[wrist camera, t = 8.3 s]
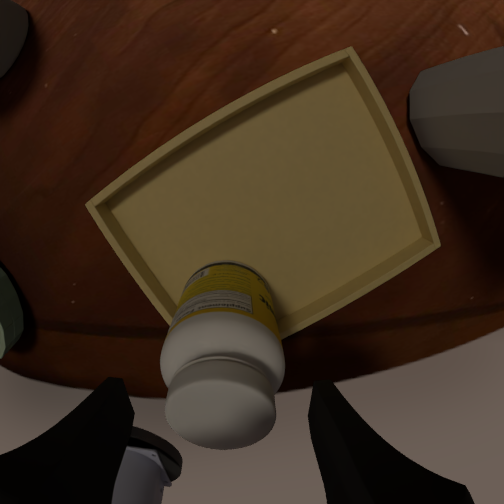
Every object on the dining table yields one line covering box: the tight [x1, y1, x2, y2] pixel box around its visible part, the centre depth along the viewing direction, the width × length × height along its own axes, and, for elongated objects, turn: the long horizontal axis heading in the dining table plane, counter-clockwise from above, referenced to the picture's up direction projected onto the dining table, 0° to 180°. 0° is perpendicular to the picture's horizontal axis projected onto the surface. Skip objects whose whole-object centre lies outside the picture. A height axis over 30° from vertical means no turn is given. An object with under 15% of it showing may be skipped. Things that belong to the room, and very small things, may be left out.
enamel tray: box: [85, 47, 441, 340], centre depth 17 cm, size 17×13×2 cm
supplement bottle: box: [160, 260, 285, 450], centre depth 14 cm, size 5×5×10 cm
